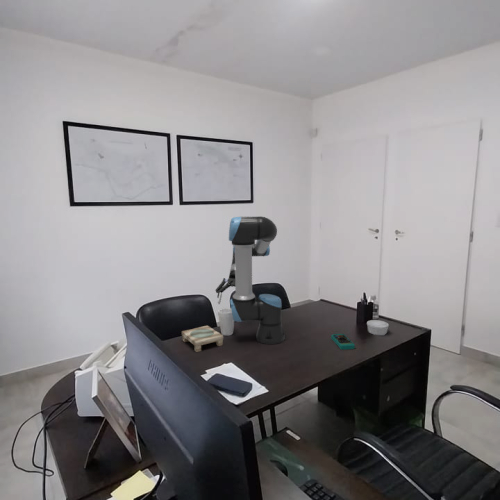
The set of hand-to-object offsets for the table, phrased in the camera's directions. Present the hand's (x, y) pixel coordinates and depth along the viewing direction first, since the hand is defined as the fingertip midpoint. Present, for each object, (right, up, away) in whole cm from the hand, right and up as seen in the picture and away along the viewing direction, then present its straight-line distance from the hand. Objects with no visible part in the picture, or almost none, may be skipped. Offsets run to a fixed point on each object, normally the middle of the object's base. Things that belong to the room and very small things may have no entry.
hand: (230, 303), depth 194 cm
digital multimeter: (+58, -17, -23) cm, 65 cm away
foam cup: (-1, -16, -7) cm, 17 cm away
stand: (-13, -17, -19) cm, 29 cm away
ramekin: (+81, -15, -9) cm, 83 cm away
